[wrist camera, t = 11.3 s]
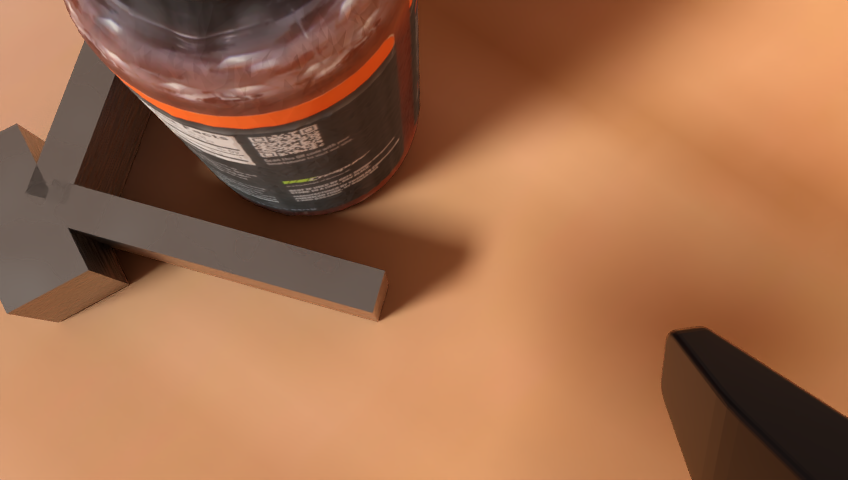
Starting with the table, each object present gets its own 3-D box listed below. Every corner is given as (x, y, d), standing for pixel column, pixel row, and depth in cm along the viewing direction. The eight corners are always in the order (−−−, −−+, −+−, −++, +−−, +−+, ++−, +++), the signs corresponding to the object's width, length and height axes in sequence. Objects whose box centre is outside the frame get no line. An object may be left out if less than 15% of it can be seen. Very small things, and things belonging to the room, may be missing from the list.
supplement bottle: (320, -27, 21) (217, -473, 10) (464, 122, 21) (522, -186, 9) (154, 108, 21) (-154, -216, 9) (297, 269, 20) (145, 121, 9)
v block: (195, -61, 21) (167, -118, 19) (401, 308, 20) (400, 297, 17) (-64, 66, 21) (-128, 23, 18) (125, 463, 19) (82, 475, 16)
